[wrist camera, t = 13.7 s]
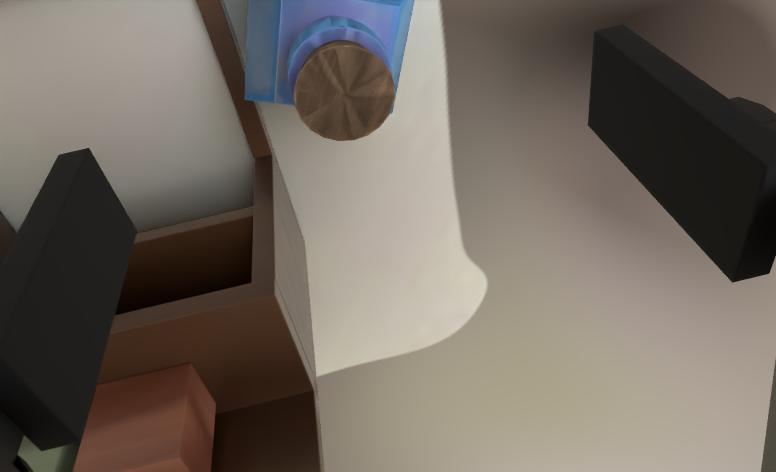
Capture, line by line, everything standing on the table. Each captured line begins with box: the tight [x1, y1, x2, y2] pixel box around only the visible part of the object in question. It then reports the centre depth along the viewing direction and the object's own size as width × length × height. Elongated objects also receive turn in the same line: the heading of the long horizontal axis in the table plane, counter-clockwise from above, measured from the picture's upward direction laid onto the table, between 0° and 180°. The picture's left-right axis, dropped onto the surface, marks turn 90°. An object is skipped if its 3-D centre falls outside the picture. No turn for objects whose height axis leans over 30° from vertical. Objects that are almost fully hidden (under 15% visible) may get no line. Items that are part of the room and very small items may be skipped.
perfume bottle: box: [245, 0, 414, 141], centre depth 23 cm, size 6×6×12 cm
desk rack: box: [0, 0, 324, 472], centre depth 23 cm, size 19×16×19 cm
